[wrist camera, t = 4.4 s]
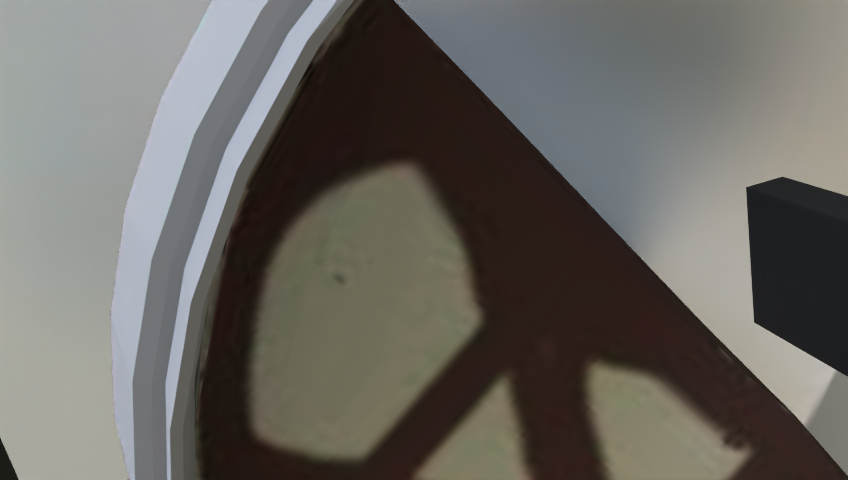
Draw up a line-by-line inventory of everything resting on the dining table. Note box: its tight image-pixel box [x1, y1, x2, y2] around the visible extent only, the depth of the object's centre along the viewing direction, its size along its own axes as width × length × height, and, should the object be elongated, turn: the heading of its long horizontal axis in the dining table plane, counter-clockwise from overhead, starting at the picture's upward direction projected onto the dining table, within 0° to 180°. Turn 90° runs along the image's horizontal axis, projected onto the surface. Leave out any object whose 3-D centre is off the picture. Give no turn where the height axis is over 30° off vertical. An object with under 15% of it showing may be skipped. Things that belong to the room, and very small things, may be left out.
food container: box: [110, 0, 848, 480], centre depth 11 cm, size 12×6×10 cm, turn 46°
